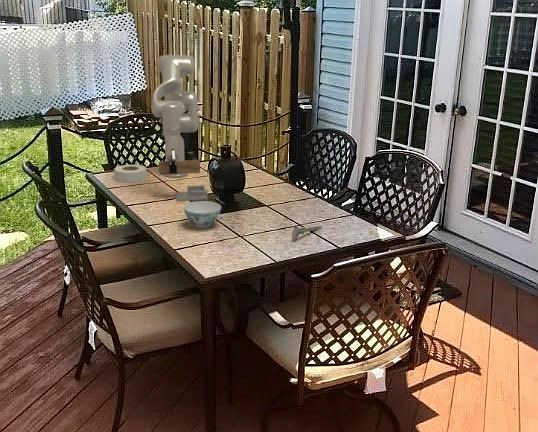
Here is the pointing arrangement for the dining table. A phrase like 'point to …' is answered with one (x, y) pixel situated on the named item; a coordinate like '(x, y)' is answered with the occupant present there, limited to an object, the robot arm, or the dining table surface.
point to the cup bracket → (192, 193)
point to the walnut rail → (180, 167)
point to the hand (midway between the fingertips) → (172, 171)
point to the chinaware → (202, 213)
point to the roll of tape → (130, 173)
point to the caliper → (302, 231)
